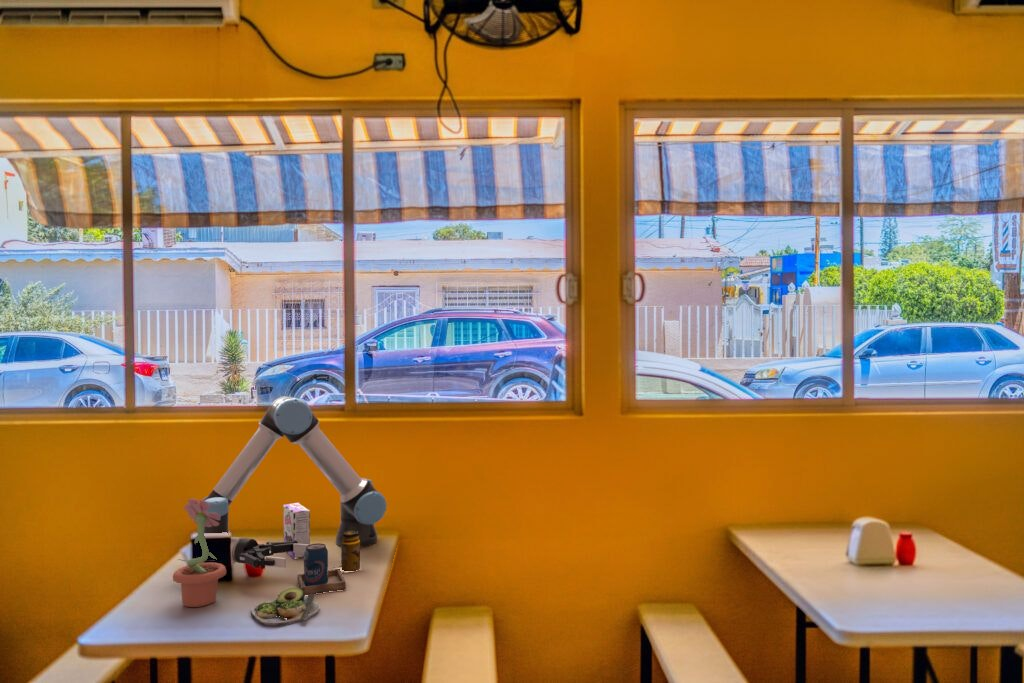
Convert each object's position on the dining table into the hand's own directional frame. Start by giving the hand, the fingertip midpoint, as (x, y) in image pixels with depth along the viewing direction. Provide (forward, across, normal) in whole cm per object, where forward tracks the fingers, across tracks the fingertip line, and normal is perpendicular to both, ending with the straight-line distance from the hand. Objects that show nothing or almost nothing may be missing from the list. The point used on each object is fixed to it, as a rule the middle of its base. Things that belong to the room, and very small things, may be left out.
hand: (299, 556), depth 202 cm
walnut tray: (+8, 0, -8) cm, 12 cm away
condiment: (+7, -16, -9) cm, 20 cm away
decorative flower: (-18, +21, -9) cm, 29 cm away
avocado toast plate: (+10, +20, -9) cm, 24 cm away
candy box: (-19, -26, -9) cm, 34 cm away
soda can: (+7, +2, -8) cm, 11 cm away
